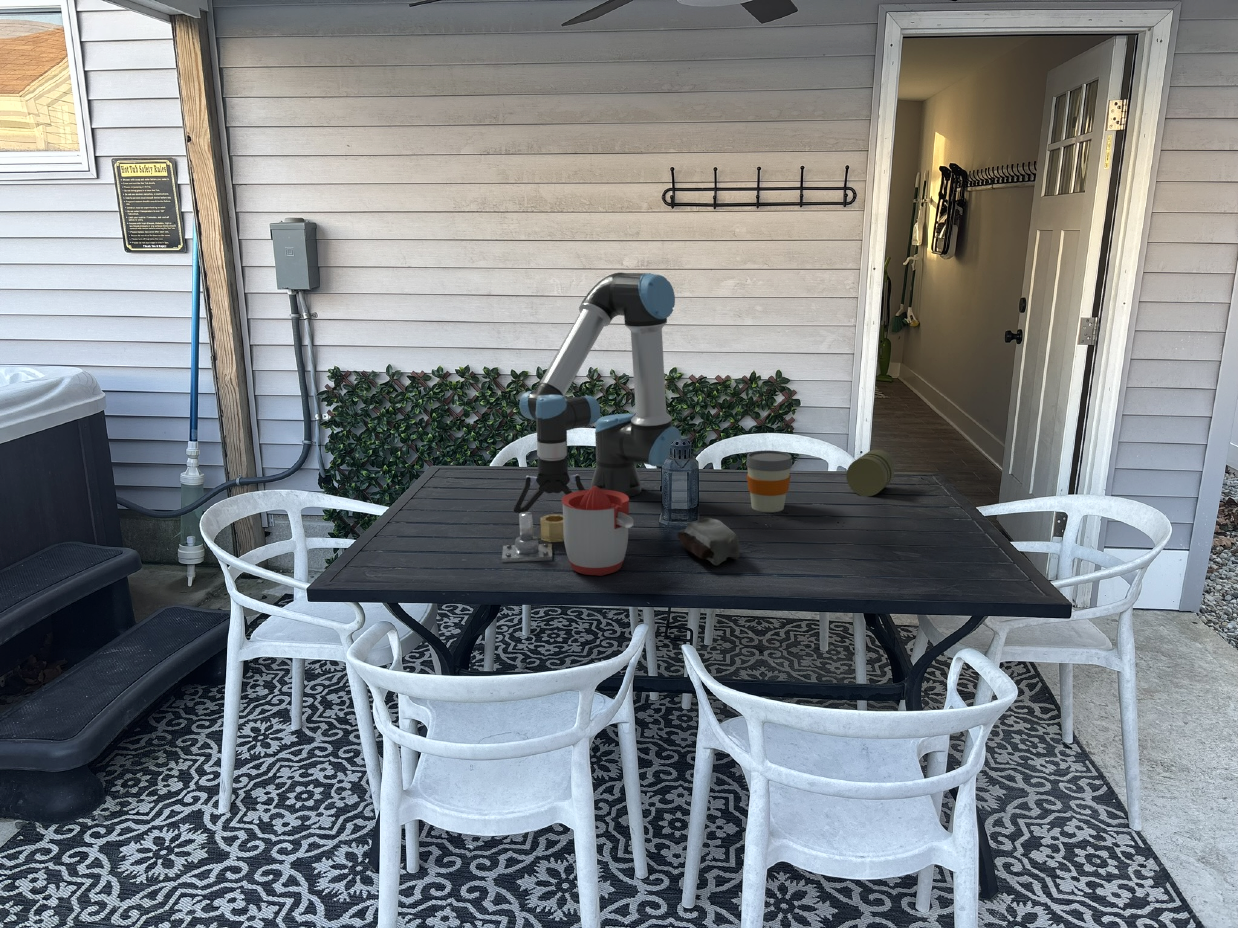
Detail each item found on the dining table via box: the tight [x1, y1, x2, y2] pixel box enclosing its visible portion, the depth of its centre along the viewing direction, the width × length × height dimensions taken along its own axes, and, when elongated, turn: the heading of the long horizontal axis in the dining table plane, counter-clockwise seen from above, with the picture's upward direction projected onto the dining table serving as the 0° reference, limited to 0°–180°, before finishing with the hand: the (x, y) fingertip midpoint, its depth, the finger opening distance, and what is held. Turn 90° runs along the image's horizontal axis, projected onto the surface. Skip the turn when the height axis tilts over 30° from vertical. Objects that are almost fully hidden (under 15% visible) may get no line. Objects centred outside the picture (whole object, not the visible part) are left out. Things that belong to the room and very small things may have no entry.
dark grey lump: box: [677, 517, 741, 566], centre depth 224 cm, size 18×11×8 cm, turn 19°
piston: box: [845, 449, 896, 497], centre depth 275 cm, size 11×12×11 cm
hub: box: [539, 513, 564, 543], centre depth 239 cm, size 7×7×5 cm
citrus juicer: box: [561, 486, 635, 577], centre depth 216 cm, size 16×17×20 cm
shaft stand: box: [501, 511, 553, 563], centre depth 226 cm, size 12×9×10 cm
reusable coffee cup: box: [745, 450, 793, 513], centre depth 260 cm, size 13×13×15 cm
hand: (554, 536), depth 240 cm, fingers open, 13 cm apart
